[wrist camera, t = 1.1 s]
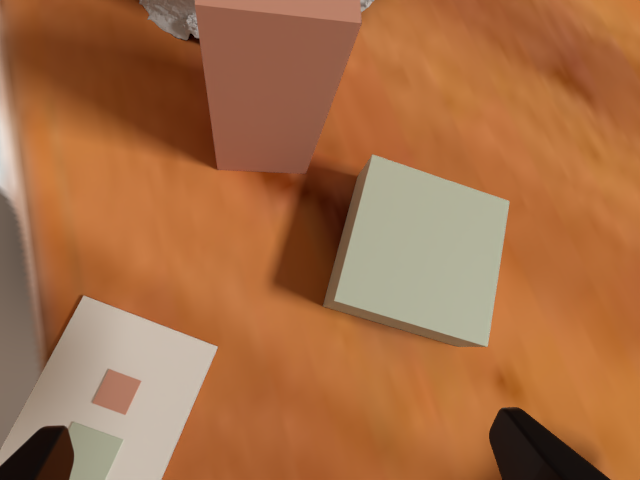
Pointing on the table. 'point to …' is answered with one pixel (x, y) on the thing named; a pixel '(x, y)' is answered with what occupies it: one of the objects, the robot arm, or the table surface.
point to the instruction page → (116, 393)
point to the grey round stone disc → (184, 15)
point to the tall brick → (272, 76)
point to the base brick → (419, 254)
